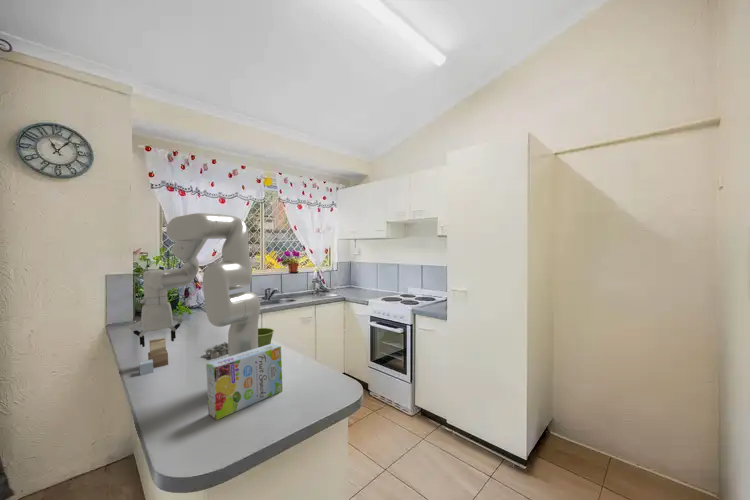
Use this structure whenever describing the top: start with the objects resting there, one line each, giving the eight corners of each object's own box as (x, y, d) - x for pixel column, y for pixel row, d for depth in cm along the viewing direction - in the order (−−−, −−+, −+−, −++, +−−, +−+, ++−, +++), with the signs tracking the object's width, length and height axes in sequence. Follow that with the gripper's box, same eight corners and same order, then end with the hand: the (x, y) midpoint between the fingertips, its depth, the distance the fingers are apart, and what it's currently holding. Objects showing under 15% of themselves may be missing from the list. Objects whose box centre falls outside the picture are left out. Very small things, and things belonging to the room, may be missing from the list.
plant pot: (265, 364, 123) (264, 336, 123) (238, 362, 126) (238, 335, 125) (280, 353, 135) (279, 328, 135) (255, 352, 137) (254, 327, 137)
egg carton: (213, 360, 130) (212, 350, 129) (202, 357, 133) (202, 347, 133) (236, 352, 139) (235, 342, 139) (225, 349, 143) (225, 340, 142)
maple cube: (165, 353, 124) (165, 340, 124) (150, 356, 121) (150, 343, 121) (164, 349, 128) (164, 337, 128) (149, 352, 125) (149, 340, 125)
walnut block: (168, 365, 125) (167, 352, 124) (149, 369, 121) (149, 356, 120) (166, 360, 129) (165, 349, 129) (148, 364, 125) (147, 352, 125)
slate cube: (153, 372, 117) (153, 362, 117) (140, 375, 115) (139, 365, 115) (152, 369, 120) (152, 359, 120) (139, 372, 118) (139, 361, 118)
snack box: (273, 386, 105) (272, 342, 104) (283, 391, 101) (282, 345, 101) (207, 414, 88) (205, 362, 88) (216, 421, 85) (214, 367, 84)
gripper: (128, 305, 116) (131, 350, 116) (182, 299, 126) (184, 340, 127) (128, 302, 121) (130, 346, 122) (180, 297, 132) (182, 336, 133)
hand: (158, 343), depth 124 cm, fingers open, 9 cm apart
